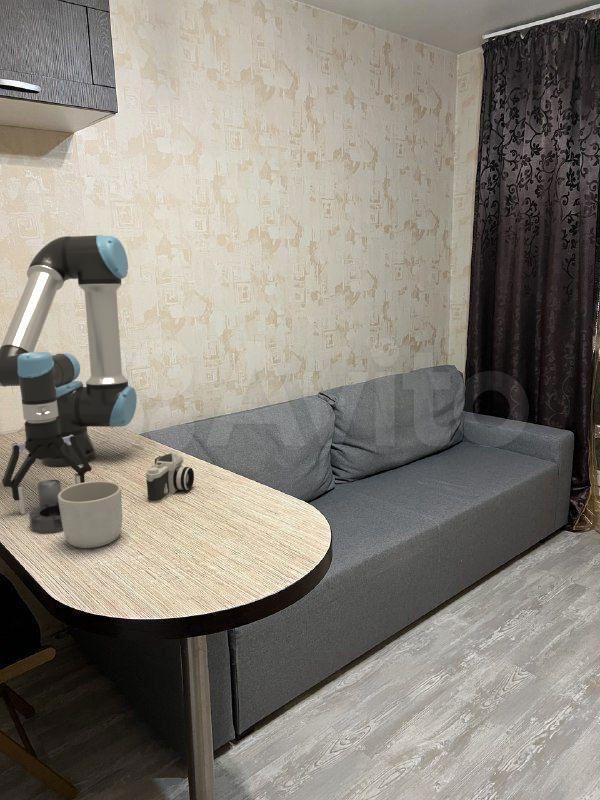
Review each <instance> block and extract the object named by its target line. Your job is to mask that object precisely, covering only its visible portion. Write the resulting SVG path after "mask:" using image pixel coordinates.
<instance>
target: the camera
mask: <svg viewBox="0 0 600 800" xmlns="http://www.w3.org/2000/svg"><path fill="white" fill-rule="evenodd" d="M183 463H184V458H183V456H181V455H179V454H177V452H171V453H167V454H164V455H162V456H160V455H159V456H158V457H156V458H155V459H154V464H153V465H150V466H149V467H148V468H147V470H146V473H145V478H146V479H145V482H146V489H147V501H148V502H149V503H161V502H162V501H163V500H164V499H165V498H167V497H168V496H169V495H171V494H175V493H176V492H178V490H179V491H189V490H191V489H192V488H193V485H194V482H195V473H194V470H193V468H192V467H191V466H182V465H183Z"/></svg>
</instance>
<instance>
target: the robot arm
mask: <svg viewBox="0 0 600 800" xmlns="http://www.w3.org/2000/svg"><path fill="white" fill-rule="evenodd" d="M128 270H129V261H128V256H127V253H126V249H125V248H124V246H123V244H122V242H121V241H120V240H119V239H118V238H117V237H115V236H112V235H102V234H98V235H76V236H69V235H68V236H67V235H66V236H60V237H58V238H55V239H53V240H51V241H50V242H48V243H47V244H45V245H44V246H43V247H42V248H41V249H40V250H39V251H38V252H37V253H36V255H35V256H34V257H33V258H32V260H31V262H30V264H29V267H28V269H27V272H26V277H27V278H28V279H27V282H26V284H25V287H24V289H23V292H22V295H21V297H20V299H19V301H18V304H17V307H16V309H15V311H14V314H13V316H12V319H11V322H10V324H9V327H8V329H7V331H6V334H5V335H4V338H3V340H2V343H1V346H0V387H19V390H20V396H21V406H22V415H23V420H24V421H25V422H24V431H25V442H24V443H16V442H13V443H12V444H11V455H10V458H9V461H8V462H7V463H8V464H7V466H6V470H5V471H4V474H3V477H2V479H1V482H2V485H3V487H5V488H8V487H9V488H11V493H12V498H13V500H14V501H15V502H16V501H18V507H19V508H18V509H19V512H20V514H21V515H25V514H26V512H25V511H26V510H25V502H24V501H25V500H24V495H23V494H24V493H23V487H22V486H21V483H22V481H23V479H24V478H25V476H26V475H27V473H28V471H29V470H30V469H31V467H32V465H34V464H35V462H36V461H37V459H38V460H40V461H42V462H41V463H42V465H43V466H45V467H48V468H72V469H73V470H74V471H75V472H76V473H74V474H73V477H74V485H75V484H79V483H84V482H86V481H85V475H86V473H87V472H88V473H89V472H91V471H92V467H91V465H90V464H89V463H90V462H92V461H94V460H95V459H96V458H97V453H96V448H95V445H94V444H93V442H92V439H91V437H90V435H89V432H88V427H93V428H94V427H95V428H97V427H99V428H100V427H101V428H102V427H103V428H106V427H107V428H108V427H109V428H115V427H118V428H119V427H126V426H128V425H129V424H130V423H131V422H132V421H133V419H134V417H135V413H136V410H137V403H138V402H137V397H138V396H137V392H136V389H135V387H132V386H129V379H128V378H126V377H125V376H124V374H123V372H122V371H123V370H122V369H123V367H122V355H121V354H122V352H121V339H120V325H119V324H120V322H119V311H118V296H117V293H118V292H117V291H118V289H120V287H121V286H122V279H125V278H126V277H127V276H128ZM68 280H77V283H78V284H77V286H78V287H80V289H81V290H82V291H83V292H84V299H85V313H86V315H85V317H86V327H87V329H86V330H87V339H88V352H89V353H88V354H89V365H90V368H89V369H90V376H89V378H88V379H87V381H85V385H86V386H84V383H83V381H82V380H81V381H80V380H77V381H76V379H78V377H79V375H80V373H81V364H80V362H79V360H78V359H77V358H76V356H74V355H73V354H71V353H67V352H63V353H57V354H54V355H53V354H51V353H50V352H48V351H35V350H36V347H37V343H38V341H39V338H40V337H41V334H42V330H43V328H44V325H45V322H46V320H47V317H48V315H49V312H50V309H51V307H52V305H53V301H54V299H55V296H56V293H57V291H58V290H60V289H61V288H62V287H63V286H64V283H65V282H66V281H68ZM24 450H27V451H28V454H27V456H26V459H25V460H24V462H23V463H22V464H21V466H20V467H19V468H18V471H17V472H16V473H15V475H14V472H15V470H16V466H17V464H18V460H19V457H20V454H22V453H23V451H24ZM81 465H82V467H80V466H81ZM13 475H14V477H13Z"/></svg>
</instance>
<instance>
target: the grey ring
mask: <svg viewBox="0 0 600 800" xmlns="http://www.w3.org/2000/svg"><path fill="white" fill-rule="evenodd" d="M28 516H29V517H28V518H29V525H30V528H31V530H32V532H34V533H38V534H42V535H44V534H57V533H61V532H64V531H63V527H62V521H61V515H60V509H59V502H55V503H51V504H46V505H43V506H40V505H39V506H38V507H36V508H34V509H32V510H31V512H30V513H29V514H28Z"/></svg>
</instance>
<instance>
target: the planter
mask: <svg viewBox="0 0 600 800" xmlns="http://www.w3.org/2000/svg"><path fill="white" fill-rule="evenodd" d="M58 502H59V509H60V515H61V521H62V527H63V531H62V532H63V534H64V537H65V539H66V541H67V543H68V544H69V545H72V546H73V547H75V548H79V549H94V548H99V547H103V546H106V545H109V544H111V543H112V542H114V541H115V540H117V538H118V537H119V536H120V534H121V532H122V529H123V528H122V526H123V505H122V504H123V503H122V488H121V486H120V484H118V483H116V482H113V481H108V480H107V481H106V480H93V481H85V482H84V483H79V484H75V483H74V484H72V485H70V486H68V487H65V488H63V489H61V492H60V493H59V494H58Z"/></svg>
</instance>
